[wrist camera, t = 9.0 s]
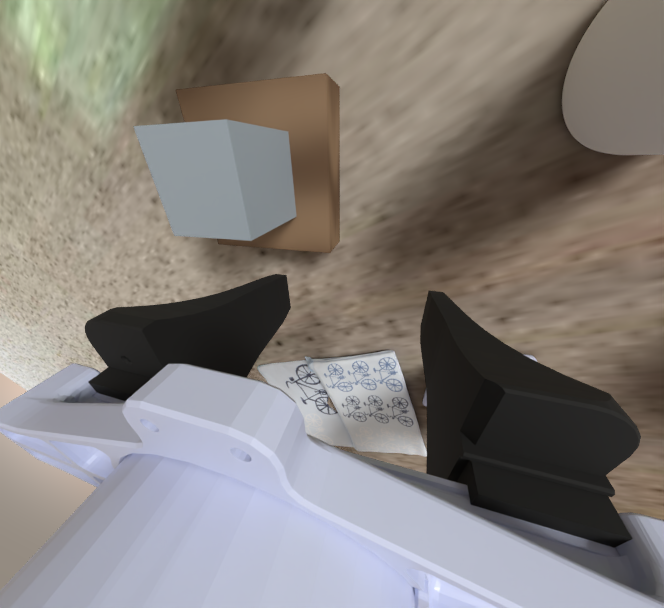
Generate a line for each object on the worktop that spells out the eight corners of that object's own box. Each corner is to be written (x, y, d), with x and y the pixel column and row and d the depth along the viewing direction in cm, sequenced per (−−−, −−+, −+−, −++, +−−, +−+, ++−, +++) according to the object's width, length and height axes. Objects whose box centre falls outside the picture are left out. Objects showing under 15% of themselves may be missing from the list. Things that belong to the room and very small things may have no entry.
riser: (339, 241, 20) (330, 252, 18) (239, 234, 23) (218, 244, 20) (339, 86, 15) (325, 73, 13) (208, 98, 17) (175, 89, 15)
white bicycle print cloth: (428, 447, 33) (429, 463, 31) (305, 437, 41) (300, 450, 39) (398, 342, 25) (397, 356, 23) (252, 356, 33) (244, 367, 31)
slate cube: (296, 216, 17) (251, 240, 12) (237, 214, 18) (174, 235, 13) (288, 131, 14) (226, 119, 10) (219, 135, 16) (133, 126, 11)
